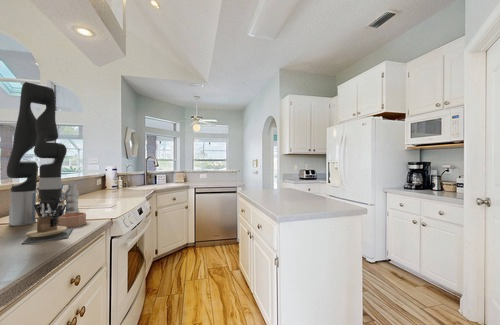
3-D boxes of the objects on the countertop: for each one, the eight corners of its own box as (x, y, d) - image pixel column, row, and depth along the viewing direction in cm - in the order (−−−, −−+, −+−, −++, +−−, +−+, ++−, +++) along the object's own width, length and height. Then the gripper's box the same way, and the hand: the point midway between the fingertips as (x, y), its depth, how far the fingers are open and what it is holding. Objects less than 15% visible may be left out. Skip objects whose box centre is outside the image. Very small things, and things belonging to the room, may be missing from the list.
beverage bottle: (44, 221, 119) (45, 185, 119) (44, 218, 124) (44, 183, 124) (65, 218, 125) (65, 184, 125) (63, 216, 130) (63, 183, 130)
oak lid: (16, 236, 89) (17, 219, 89) (49, 227, 102) (49, 212, 102) (45, 237, 87) (45, 220, 87) (74, 228, 100) (74, 213, 100)
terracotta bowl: (52, 226, 109) (52, 216, 109) (72, 221, 120) (72, 212, 120) (72, 227, 108) (72, 217, 108) (90, 221, 119) (91, 212, 119)
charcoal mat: (21, 244, 86) (21, 243, 86) (32, 234, 98) (32, 233, 98) (67, 238, 93) (67, 237, 93) (72, 229, 105) (72, 228, 105)
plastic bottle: (73, 219, 122) (73, 184, 122) (61, 219, 122) (61, 184, 122) (82, 217, 129) (82, 183, 129) (70, 216, 129) (71, 183, 129)
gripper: (26, 188, 92) (26, 228, 92) (56, 189, 91) (55, 230, 91) (45, 186, 100) (44, 223, 100) (72, 187, 98) (72, 225, 98)
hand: (49, 226), depth 95 cm, fingers closed on oak lid, 2 cm apart
